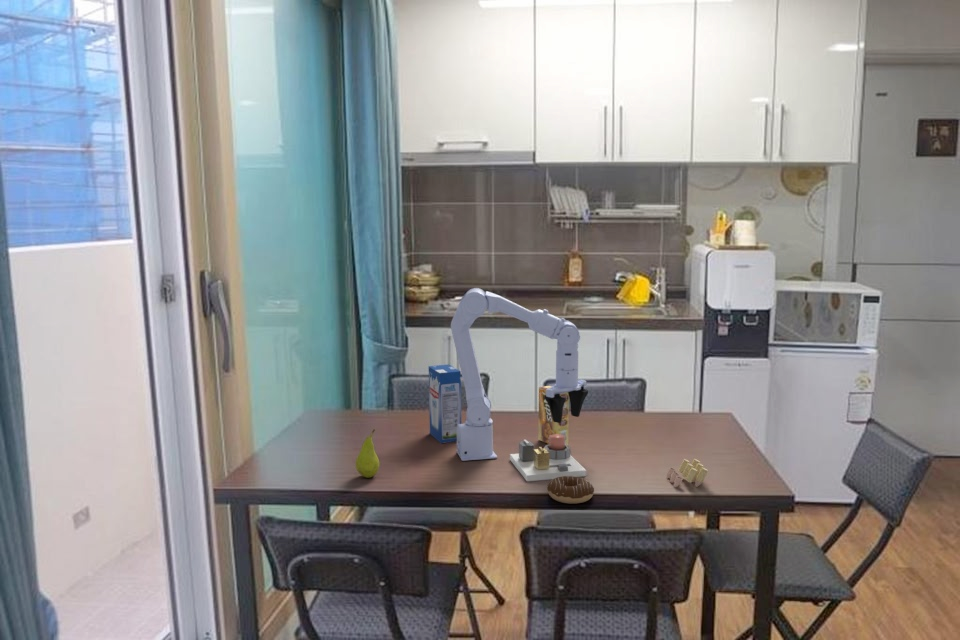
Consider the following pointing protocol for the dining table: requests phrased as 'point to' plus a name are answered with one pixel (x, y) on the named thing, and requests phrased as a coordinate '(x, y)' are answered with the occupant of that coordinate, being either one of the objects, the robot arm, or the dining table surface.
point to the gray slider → (526, 451)
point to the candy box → (546, 419)
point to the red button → (557, 442)
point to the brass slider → (541, 458)
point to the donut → (570, 489)
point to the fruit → (367, 459)
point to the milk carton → (444, 402)
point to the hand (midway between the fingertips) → (566, 419)
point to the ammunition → (688, 473)
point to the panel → (550, 466)
